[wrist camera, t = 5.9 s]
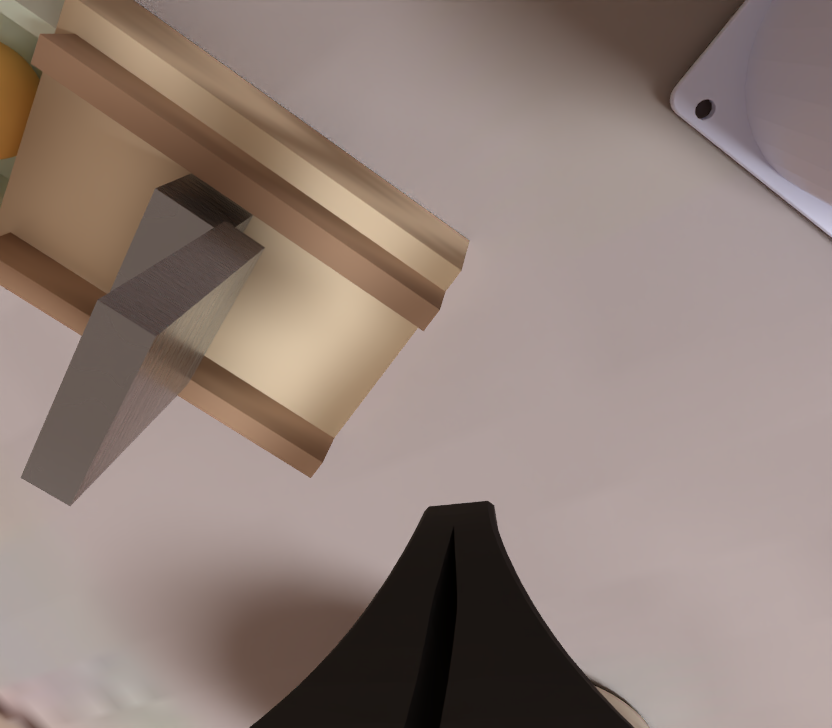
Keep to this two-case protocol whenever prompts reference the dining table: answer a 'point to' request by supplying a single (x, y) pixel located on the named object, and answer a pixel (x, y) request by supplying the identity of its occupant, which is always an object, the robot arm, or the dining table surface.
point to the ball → (14, 99)
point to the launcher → (243, 184)
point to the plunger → (145, 333)
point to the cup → (25, 43)
